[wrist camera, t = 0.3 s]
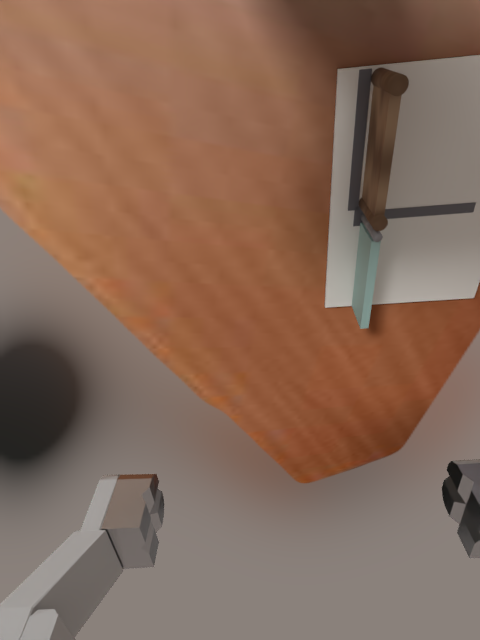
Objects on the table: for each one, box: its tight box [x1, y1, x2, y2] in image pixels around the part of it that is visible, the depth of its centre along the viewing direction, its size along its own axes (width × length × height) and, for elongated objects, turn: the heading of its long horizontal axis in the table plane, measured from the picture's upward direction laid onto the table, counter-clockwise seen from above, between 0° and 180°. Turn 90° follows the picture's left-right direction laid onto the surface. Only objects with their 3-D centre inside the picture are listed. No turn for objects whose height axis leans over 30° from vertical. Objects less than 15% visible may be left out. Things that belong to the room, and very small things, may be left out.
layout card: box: [325, 55, 480, 308], centre depth 45 cm, size 28×20×1 cm
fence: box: [359, 68, 409, 231], centre depth 39 cm, size 14×2×6 cm, turn 5°
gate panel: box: [352, 213, 383, 328], centre depth 47 cm, size 13×1×6 cm, turn 5°
